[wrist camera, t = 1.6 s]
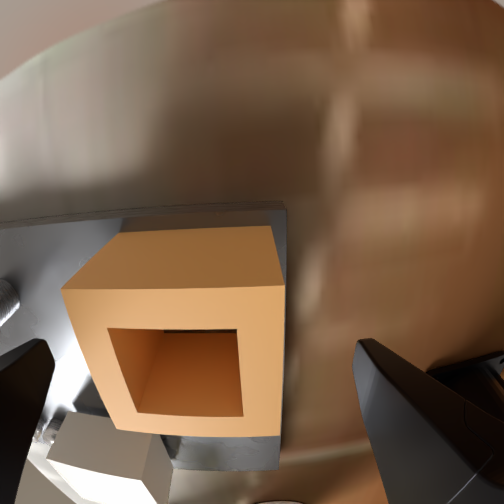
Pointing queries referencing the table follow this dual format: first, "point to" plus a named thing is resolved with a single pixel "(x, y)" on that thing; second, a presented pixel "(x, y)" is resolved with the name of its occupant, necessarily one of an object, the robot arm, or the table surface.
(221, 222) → the base plate
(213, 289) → the orange hollow square block
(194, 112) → the table surface
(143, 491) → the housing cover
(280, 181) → the table surface
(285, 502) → the cosmetic bottle
